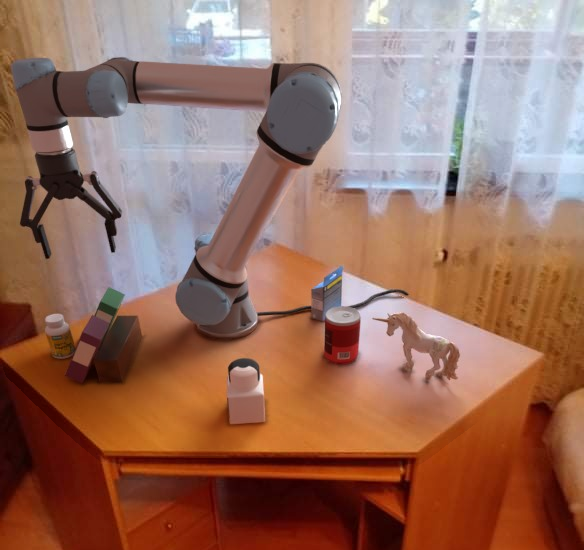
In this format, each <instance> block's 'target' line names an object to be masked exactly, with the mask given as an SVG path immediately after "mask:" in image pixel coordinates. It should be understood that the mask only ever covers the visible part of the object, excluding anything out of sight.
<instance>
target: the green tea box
mask: <svg viewBox="0 0 584 550" xmlns="http://www.w3.org/2000/svg"><path fill="white" fill-rule="evenodd" d="M125 296H126V294H125V293H123V292H122V291H121V292H120V291H119V290H117V289H115V288H112V287H110V286H108V288H107V289H106V291H105V292H104V294H103V296H102V298H101V299H100V301H99V304H98V306H97V308H96V310H95V313H94V316H96V317H98V318H100V319H102V320H105V321H107V322H109V323H110V324H109V327H108V329H107V331H106V334H105V336H104V338H103V340H102V343H101V345H100V347H99V350H100V348H101V346H102V344H103V342H104V340H105V338H106V336H107V334H108V332H109V330H110V328H111V327H112V325H113V323H114V321H115V319H116V317H117V314H118V312H119V310H120V307H121V306H122V303H123V301H124V298H125ZM99 350H98V351H99Z"/></svg>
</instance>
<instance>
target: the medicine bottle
mask: <svg viewBox="0 0 584 550" xmlns="http://www.w3.org/2000/svg"><path fill="white" fill-rule="evenodd" d="M227 373H228V375H227V376H226V402H227V411H228V421H229V423H228V424H229V425H243V424H256V423H257V424H258V423H265V422H266V409H265V390H264V389H265V388H264V376H263V374H262V373H261V372H260V364H259V363H258V362H257V361H256V360H255V359H253V358H248V357H242V358H237V359H235V360H232V361H231V362H230V364H229V365H228V367H227Z"/></svg>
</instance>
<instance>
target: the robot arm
mask: <svg viewBox="0 0 584 550" xmlns="http://www.w3.org/2000/svg"><path fill="white" fill-rule="evenodd" d="M10 71H11V76H12V80H13V84H14V92H15V93H16V95H17V99H18V102H19V105H20V108H21V111H22V116H23V119H24V122H25V125H26V130H27V134H28V137H29V141H30V145H31V149H32V150H33V151H34V152H35V153H34V158H35V163H36V166H37V169H38V173H39V178H38V177H33V176H32V175H29V176H27V177H26V178H25V180H24V185H25V191H26V192H25V196H24V201H23V206H22V211H21V216H20V221H19V225H20V226H21V227H23V228H25V227H27V228H30V229H31V232H32V235H33V238H34V241H35V243H36V244H40V245H41V248H42V251H43V254H44V257H45V260H50V258H51V256H52V251H51V247H50V244H49V239H48V236H47V234H46V230H45V227H44V223H40V222H41V219H42V218H43V217H44V215H45V213H46V211H47V209H48V207H49V205H50V204H51V202H52V200H53V198H54V199H56V200H57V201H63V200H65V199H68V200H74V199H75V198H78V199H79V200H80V201H82V202H84V203H85V204H87V206H89V207H90V208H91V209H92V210H94V211H95V212H96V213H98V214H99V215H100V216H101V217H102V218H103V219H104V228H105V231H106V237H107V241H108V245H109V249H110V252H111V253H110V254H113V253H114V254H115V253H116V249H117V248H116V242H115V238H114V237H116V236H117V235H118V228H117V224H116V220H118V219H121V218H122V215H123V209H121V207H120V206H119V205H118V203H117V202H116V201H115V199H114V198H113V196H112V195H111V194H110V193H109V191H108V190H107V189H106V188H105V186H104V185H103V184H102V183H101V181H100V177H99V174H98V172H97V171H95V170H92V171H91V172H90V173H86V174H85V173H84V174H83V173H82V172H81V170H80V166H79V162H78V161H79V160H78V158H77V154H76V150H75V149H74V148H73V146H74V141H73V137H72V134H71V129H70V125H69V121H68V118H103V119H108V118H113V117H115V118H116V117H121V116H123V115H124V114H125V113H126V110H127V107H128V105H129V104H133V105H134V104H135V105H140V104H141V105H156V106H170V107H185V108H198V109H199V108H201V109H214V110H228V111H229V110H231V111H245V112H256V113H257V112H258V113H259V112H260V113H264V115H263V117H262V119H261V121H260V124H259V125H258V127H257V129H256V137H257V140H258V146H257V148H256V150H255V152H254V154H253V156H252V159H251V160H250V162H249V164H248V166H247V168H246V170H245V172H244V174H243V176H242V178H241V180H240V182H239V184H238V186H237V188H236V189H235V191H234V194H233V196H232V198H231V200H230V202H229V204H228V205H227V208H226V210H225V212H224V214H223V216H222V217H221V220H220V221H219V224H218V226H217V227H216V229H215V231H214V233H207V234H204V235H203V234H202V235H200V236H198V237H197V238H196V239H195V241H194V248H193V249H194V252H195V255H194V257H193V258H192V259H191V263H190V264H189V267H188V269H187V270H186V273H185V274H184V276H183V278H182V279H181V281H180V282H179V283H178V285H177V287H176V291H175V303H176V306H177V307H178V309H179V311H180V313H181V314H182V316H184V317H185V318H186V319H188V321H190V322H192V323H194V324H196V329H197V332H199V333H200V334H201V335H202V336H204V337H206V338H208V339H212V340H218V341H231V340H237V339H242V338H243V337H247V336H249V335H251V334H252V333H253V332H254V331H255V330H256V328H257V327H258V325H259V322H258V320H259V319H258V317H264V316H265V317H266V316H281V315H282V316H283V315H290V314H295V313H298V312H302V311H307V310H311V305H305V306H300V307H297V308H293V309H288V310H280V311H279V310H278V311H273V310H272V311H259V312H257V310H256V309H255V307H254V304H253V302H252V299H251V297H250V294H249V276H248V262H249V261H250V259H251V256H252V255H253V253H254V252H255V250H256V248H257V246H258V244H259V243H260V240H261V239H262V238H263V236H264V234H265V232H266V230H267V229H268V226H269V225H270V223H271V221H272V219H273V218H274V216H275V214H276V212H277V211H278V209H279V207H280V205H281V204H282V201H283V200H284V198H285V197H286V194H287V193H288V191H289V190H290V188H291V186H292V184H293V183H294V180H296V177H297V175H298V173H299V171H300V170H303V169H307V168H310V167H312V166H313V164H314V162H315V160H316V159H317V157H318V155H319V154H320V152H321V150H322V148H323V147H324V145H326V143H327V142H328V141H330V139H331V137H332V136H333V133H334V132H335V130H336V128H337V125H338V121H339V116H340V115H339V114H340V112H341V108H342V104H343V103H342V102H343V92H342V91H343V90H342V88H341V84H340V82H339V79H338V78H337V76H336V74H335V73H333V71H331V70H330V69H329V68H328V67H326V66H324V65H322V64H320V63H315V62H300V63H297V62H296V63H295V62H294V63H293V62H291V63H285V62H284V63H283V62H282V63H279V62H273V63H272V64H270V66H269V67H267V68H260V67H245V66H242V67H241V66H229V65H228V66H225V65H213V64H211V65H209V64H196V63H195V64H193V63H174V62H159V61H158V62H157V61H143V60H141V61H137V60H132V59H130V58H128V57H125V56H119V57H117V56H116V57H111V58H110V59H107V60H106V61H104V62H102V63H100V64H97V65H95V66H92V67H90V68H88V69H85V70H70V71H63V70H62V71H61V70H57V69H56V66H55V63H54V61H53V60H52V59H50V58H48V57H29V58H22V59H18V60H17V59H16V60H14V61H13V62H12V63H11V65H10ZM84 182H85V183H88V185H89V186H92V187H93V190H94V191H95V192H96V193H97V195H98V196H99V197H100V199H101V200H102V201H103V202H104V203H105V205H106V206H107V207H106V206H105V205H104V204H102V202H100V201H99V200H98V199H96V198H95V197H94V196H93V195H92V194H90V192H88V190H87V189H86V188H85V187H84V186H83V185H84ZM39 186H40V187H42V189H44V190H45V191H46V192H47V193H46V195H45V197H44V199H43V200H42V202H41V205H40V206H39V208H38V210H37V212H36V213H35V215H34V216H33V219H32V218H30V216H31V210H32V206H33V201H34V197H35V191H36V190H38V187H39ZM394 293H397V294H398V293H399V294H402V295H404V296H409V295H410V294H409V293H408V292H407V291H405V290H404V289H401V288H392V289H388V290H385V291H384V290H383V291H381V292H378V293H375V294H373V295H371V296H369V297H368V298H366V300H363V301H361V302H359V303H356V304H352V305H351V304H350V305H347V306H346V307H351V308H354V309H357V308H360V307H363V306H365V305H367V304H369V303H370V302H371V301H373V300H374V299H376V298H379V297H383V296H386V295H388V294H394Z"/></svg>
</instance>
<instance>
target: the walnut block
mask: <svg viewBox="0 0 584 550" xmlns="http://www.w3.org/2000/svg"><path fill="white" fill-rule="evenodd" d="M142 339H143V335H142V329H141V325H140V319H139V315H116V317H115V319H114V321H113V324H112V326H111V328H110V330H109V332H108V334H107V336H106V338H105V340H104V342H103V344H102V346H101V348H100V350H99V351H98V352H97V354H96V357H95V359H94V361H93V363H94V366H95V370H96V374H97V379H98V382H99V383H101V384H122V383H123V382H124V380H125V377H126V375H127V373H128V371H129V368H130V366H131V363H132V361H133V359H134V356H135V354H136V351H137V350H138V347H139V344H140V343H141V340H142Z"/></svg>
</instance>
